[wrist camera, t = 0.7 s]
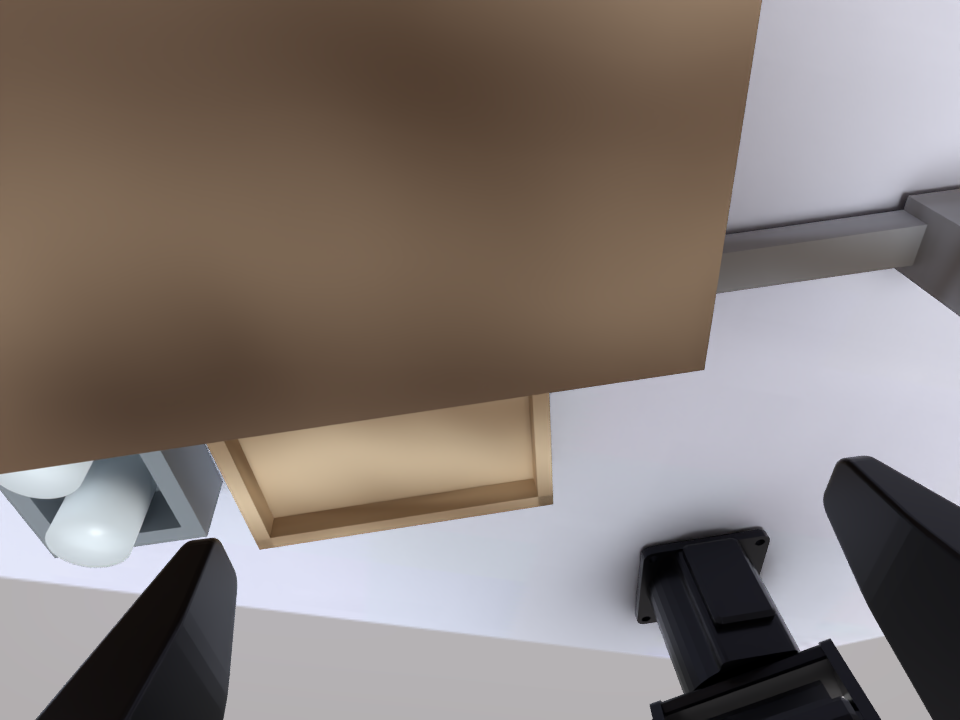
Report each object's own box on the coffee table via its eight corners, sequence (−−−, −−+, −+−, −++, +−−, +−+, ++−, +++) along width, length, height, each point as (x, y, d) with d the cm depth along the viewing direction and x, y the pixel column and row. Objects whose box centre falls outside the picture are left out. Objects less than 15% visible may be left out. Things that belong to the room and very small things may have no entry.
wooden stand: (592, 200, 20) (704, 370, 13) (89, 269, 20) (-85, 486, 12) (601, -426, 12) (898, -869, 5) (-237, -341, 12) (-1223, -709, 5)
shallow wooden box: (885, 419, 28) (988, 529, 23) (266, 514, 27) (239, 650, 22) (982, 178, 21) (1157, 262, 16) (163, 292, 20) (92, 417, 15)
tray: (223, 477, 26) (197, 570, 22) (86, 496, 26) (36, 593, 22) (147, 314, 21) (97, 401, 18) (-24, 336, 21) (-110, 428, 17)
